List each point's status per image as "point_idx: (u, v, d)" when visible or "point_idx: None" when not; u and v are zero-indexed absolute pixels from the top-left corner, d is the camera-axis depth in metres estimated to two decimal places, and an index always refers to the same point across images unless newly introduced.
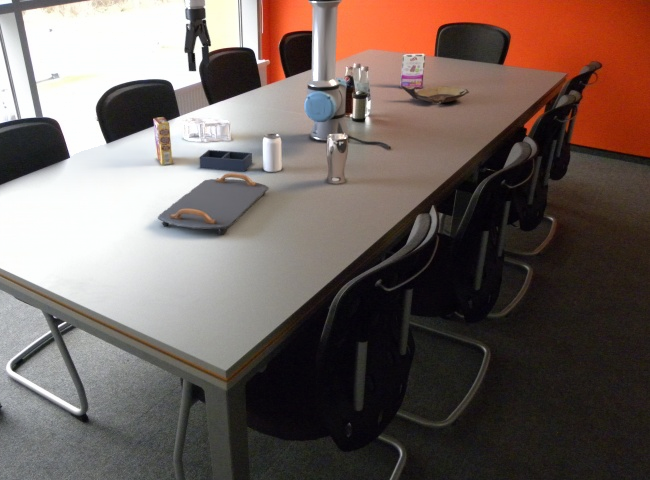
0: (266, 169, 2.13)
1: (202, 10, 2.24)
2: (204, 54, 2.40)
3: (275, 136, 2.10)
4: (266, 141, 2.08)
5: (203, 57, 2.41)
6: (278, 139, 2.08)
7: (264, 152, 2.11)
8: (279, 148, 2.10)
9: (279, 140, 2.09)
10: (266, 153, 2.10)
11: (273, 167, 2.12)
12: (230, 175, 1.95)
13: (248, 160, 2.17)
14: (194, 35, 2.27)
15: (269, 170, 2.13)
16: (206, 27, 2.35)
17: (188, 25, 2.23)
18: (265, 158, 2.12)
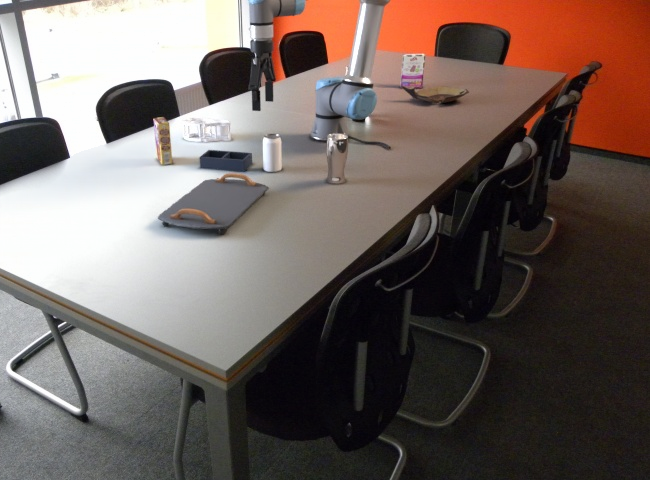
0: (266, 169, 2.13)
1: (270, 42, 1.96)
2: (268, 90, 2.11)
3: (275, 136, 2.10)
4: (266, 141, 2.08)
5: (266, 93, 2.12)
6: (278, 139, 2.08)
7: (264, 152, 2.11)
8: (279, 148, 2.10)
9: (279, 140, 2.09)
10: (266, 153, 2.10)
11: (273, 167, 2.12)
12: (230, 175, 1.95)
13: (248, 160, 2.17)
14: (260, 70, 1.98)
15: (269, 170, 2.13)
16: (272, 60, 2.06)
17: (254, 59, 1.95)
18: (265, 158, 2.12)
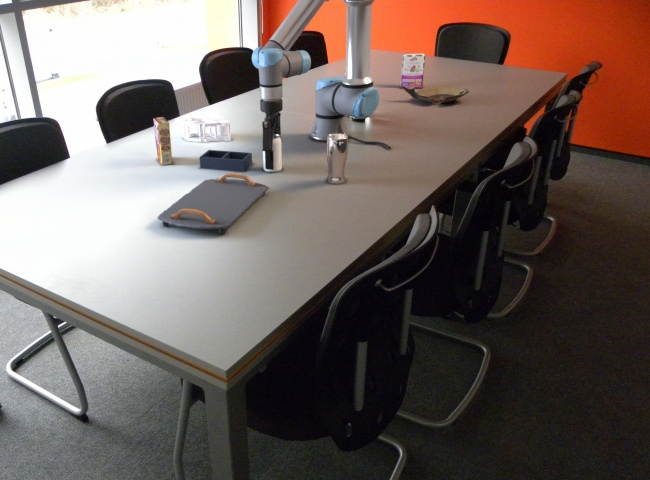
0: (266, 169, 2.13)
1: (280, 102, 2.02)
2: None
3: (275, 136, 2.10)
4: None
5: None
6: (278, 139, 2.08)
7: (264, 152, 2.11)
8: (279, 148, 2.10)
9: (279, 140, 2.09)
10: None
11: (273, 167, 2.12)
12: (230, 175, 1.95)
13: (248, 160, 2.17)
14: (271, 131, 2.06)
15: (269, 170, 2.13)
16: (279, 121, 2.12)
17: (264, 123, 2.01)
18: None
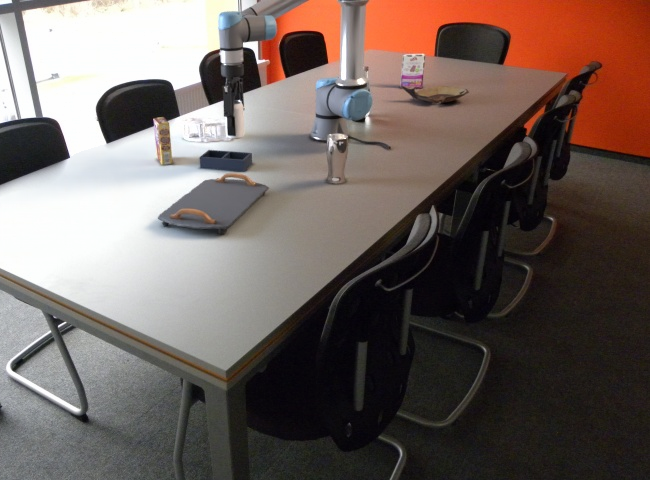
0: (228, 136, 2.12)
1: (240, 67, 2.00)
2: None
3: (237, 102, 2.08)
4: None
5: None
6: (240, 105, 2.07)
7: (226, 118, 2.09)
8: (241, 114, 2.08)
9: (241, 106, 2.07)
10: None
11: None
12: (230, 175, 1.95)
13: (248, 160, 2.17)
14: (232, 96, 2.04)
15: (232, 136, 2.11)
16: (242, 87, 2.10)
17: (224, 88, 2.00)
18: None
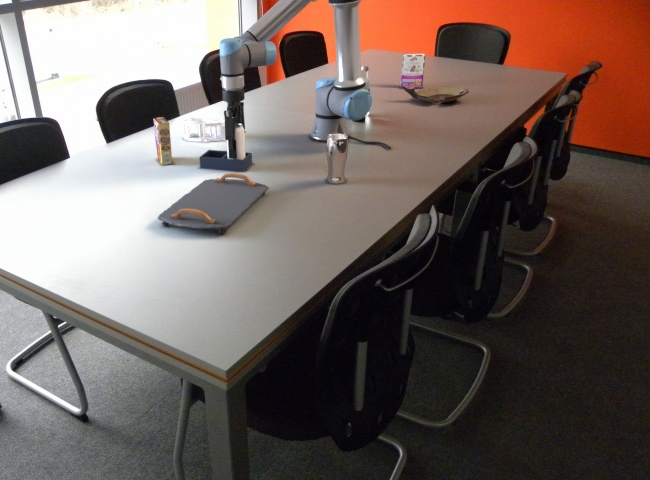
0: (230, 158, 2.16)
1: (241, 92, 2.04)
2: None
3: (238, 125, 2.12)
4: None
5: None
6: (241, 128, 2.11)
7: (227, 141, 2.13)
8: (242, 137, 2.12)
9: (242, 129, 2.11)
10: None
11: None
12: (230, 175, 1.95)
13: (248, 160, 2.17)
14: (233, 120, 2.08)
15: None
16: (243, 110, 2.15)
17: (226, 112, 2.04)
18: None
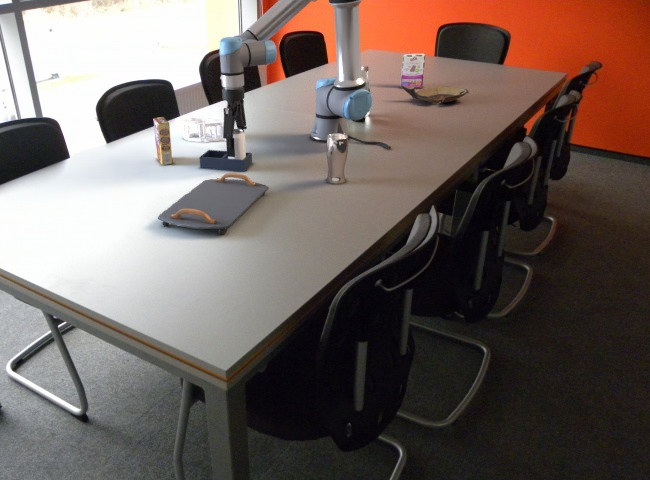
0: None
1: (241, 91, 2.04)
2: None
3: (239, 131, 2.14)
4: None
5: None
6: (241, 134, 2.12)
7: None
8: (243, 143, 2.14)
9: (242, 135, 2.13)
10: None
11: None
12: (230, 175, 1.95)
13: (248, 160, 2.17)
14: (232, 118, 2.07)
15: None
16: (243, 108, 2.15)
17: (225, 110, 2.03)
18: None
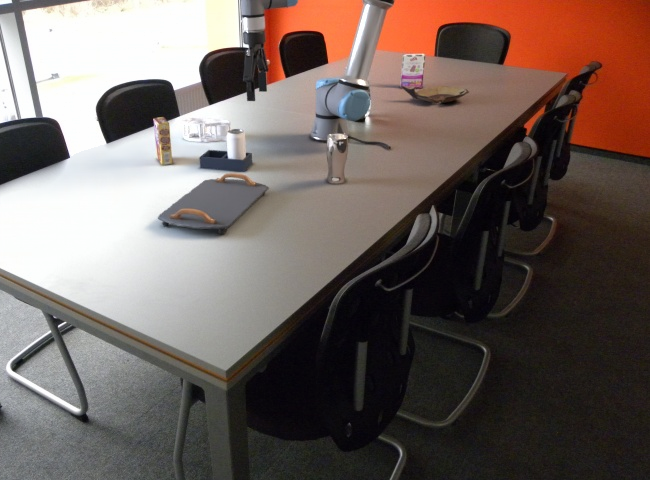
0: None
1: (262, 34, 2.01)
2: (261, 80, 2.17)
3: (239, 131, 2.14)
4: (230, 136, 2.12)
5: (260, 83, 2.18)
6: (241, 134, 2.12)
7: (228, 147, 2.15)
8: (243, 143, 2.14)
9: (242, 135, 2.13)
10: (230, 148, 2.14)
11: None
12: (230, 175, 1.95)
13: (248, 160, 2.17)
14: (253, 61, 2.04)
15: None
16: (264, 51, 2.12)
17: (247, 51, 2.00)
18: (229, 153, 2.15)
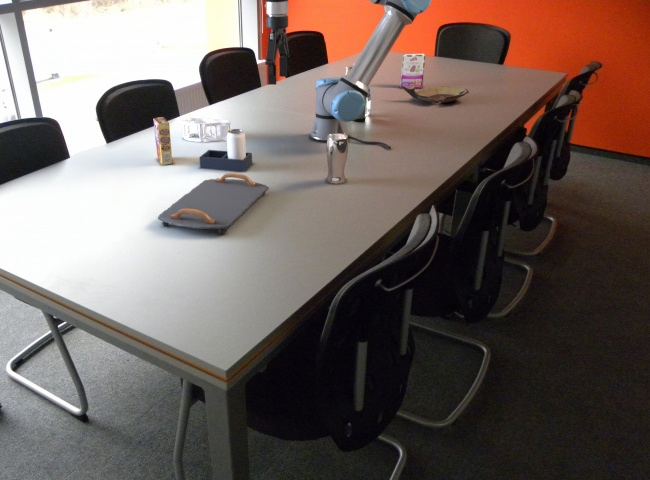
0: None
1: (285, 18, 2.05)
2: (282, 65, 2.21)
3: (239, 131, 2.14)
4: (230, 136, 2.12)
5: (280, 68, 2.22)
6: (241, 134, 2.12)
7: (228, 147, 2.15)
8: (243, 143, 2.14)
9: (242, 135, 2.13)
10: (230, 148, 2.14)
11: None
12: (230, 175, 1.95)
13: (248, 160, 2.17)
14: (276, 45, 2.08)
15: None
16: (286, 36, 2.16)
17: (270, 34, 2.04)
18: (229, 153, 2.15)
